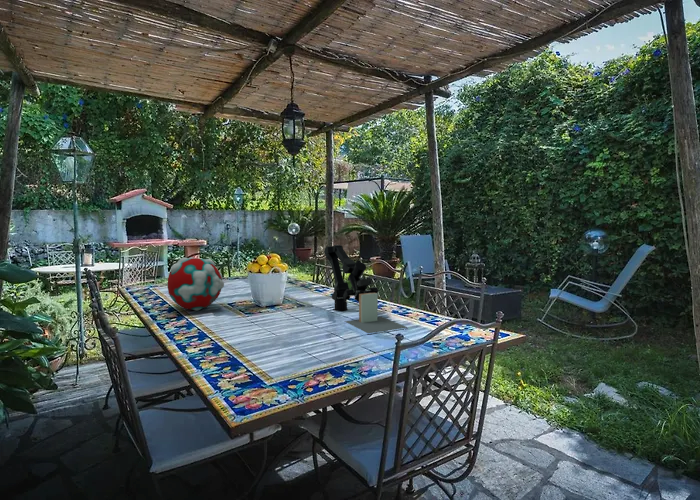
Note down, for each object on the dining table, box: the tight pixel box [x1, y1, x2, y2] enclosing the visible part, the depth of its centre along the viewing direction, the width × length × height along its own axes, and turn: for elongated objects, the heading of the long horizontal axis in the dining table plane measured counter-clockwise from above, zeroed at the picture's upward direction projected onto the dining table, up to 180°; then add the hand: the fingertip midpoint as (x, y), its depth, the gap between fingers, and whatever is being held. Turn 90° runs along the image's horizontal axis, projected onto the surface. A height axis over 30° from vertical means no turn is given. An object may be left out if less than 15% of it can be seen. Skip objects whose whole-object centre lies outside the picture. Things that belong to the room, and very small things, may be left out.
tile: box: [358, 292, 379, 323], centre depth 209 cm, size 3×9×14 cm, turn 117°
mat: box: [344, 316, 409, 336], centre depth 203 cm, size 24×22×1 cm
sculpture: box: [166, 257, 225, 311], centre depth 237 cm, size 32×30×30 cm
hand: (366, 306), depth 210 cm, fingers closed, pressing on tile
